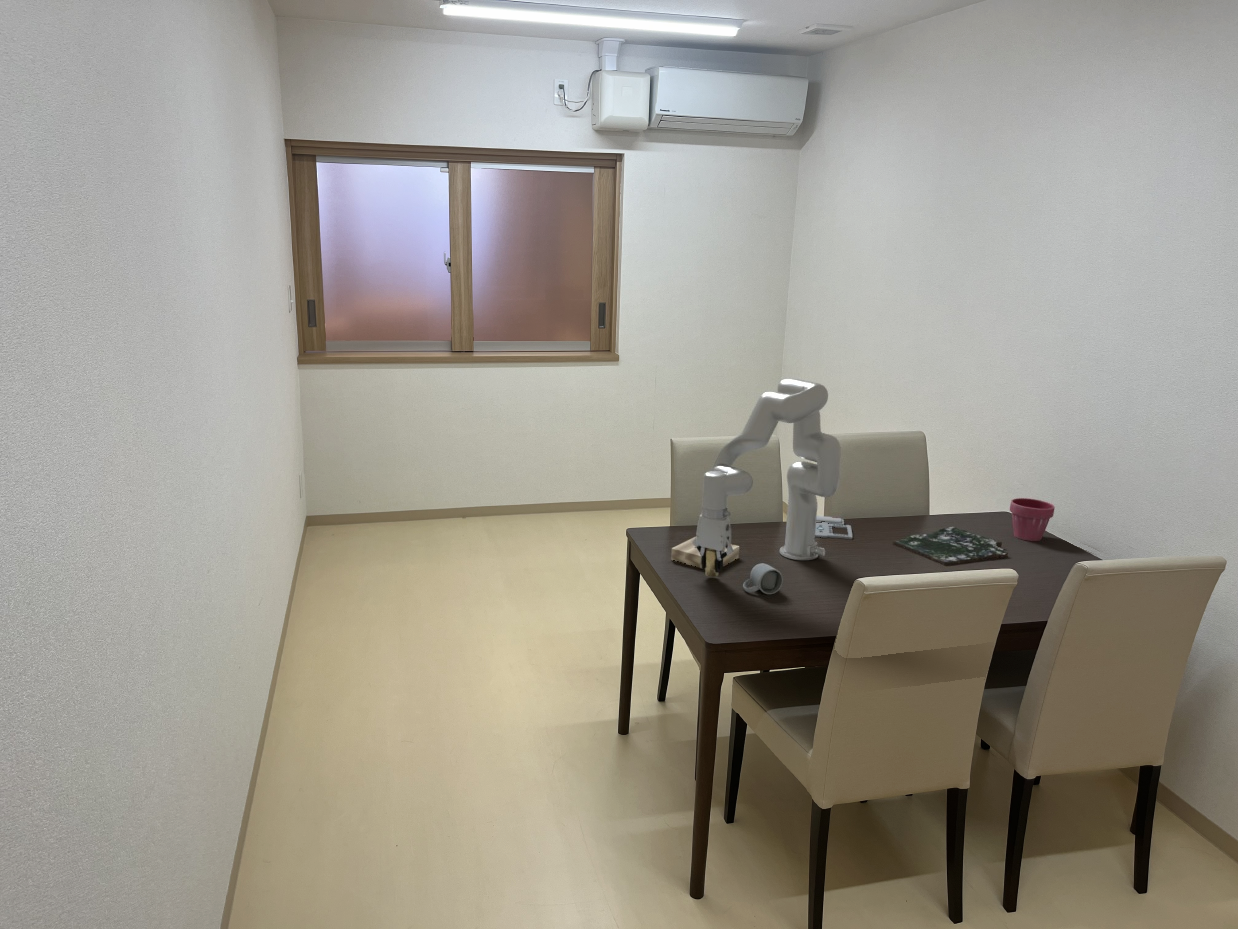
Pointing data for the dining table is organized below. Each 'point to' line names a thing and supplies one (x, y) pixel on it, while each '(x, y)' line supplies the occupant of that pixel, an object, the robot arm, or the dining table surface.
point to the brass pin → (710, 563)
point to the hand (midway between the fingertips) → (711, 568)
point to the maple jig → (697, 554)
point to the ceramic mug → (764, 579)
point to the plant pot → (1030, 518)
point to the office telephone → (826, 529)
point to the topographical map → (952, 546)
